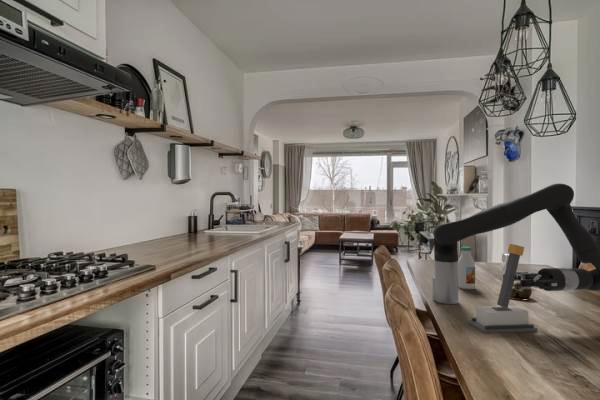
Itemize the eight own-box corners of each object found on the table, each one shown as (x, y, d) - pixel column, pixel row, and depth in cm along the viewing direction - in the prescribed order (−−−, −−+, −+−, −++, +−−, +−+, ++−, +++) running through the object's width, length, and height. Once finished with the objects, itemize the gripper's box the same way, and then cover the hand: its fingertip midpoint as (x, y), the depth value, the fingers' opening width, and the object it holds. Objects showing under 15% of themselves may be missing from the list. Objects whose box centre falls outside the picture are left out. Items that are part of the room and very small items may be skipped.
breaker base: (517, 321, 120) (517, 303, 120) (537, 331, 111) (537, 312, 111) (468, 323, 119) (468, 305, 119) (484, 332, 110) (483, 313, 110)
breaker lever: (503, 305, 117) (517, 245, 117) (509, 308, 113) (524, 247, 114) (495, 303, 116) (509, 243, 117) (501, 306, 113) (516, 244, 114)
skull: (499, 296, 149) (500, 276, 154) (502, 308, 155) (503, 288, 160) (532, 299, 141) (532, 278, 147) (534, 312, 147) (534, 291, 153)
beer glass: (503, 281, 180) (502, 252, 181) (518, 283, 176) (518, 254, 176) (500, 283, 175) (500, 254, 175) (516, 285, 171) (516, 255, 171)
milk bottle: (459, 289, 165) (459, 247, 165) (456, 285, 172) (455, 245, 172) (477, 290, 163) (476, 248, 163) (473, 286, 170) (472, 246, 171)
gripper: (541, 264, 123) (498, 265, 122) (575, 272, 109) (527, 273, 108) (541, 285, 123) (498, 286, 122) (576, 296, 109) (527, 297, 108)
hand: (512, 280), depth 115 cm, fingers open, 8 cm apart
